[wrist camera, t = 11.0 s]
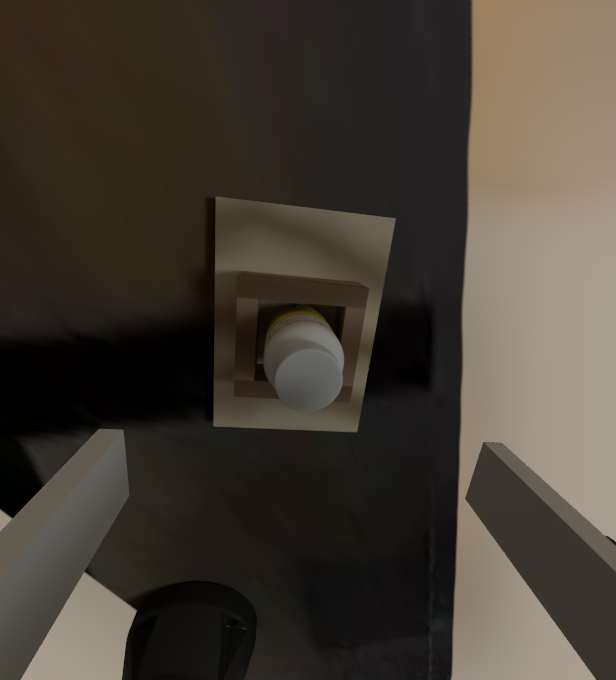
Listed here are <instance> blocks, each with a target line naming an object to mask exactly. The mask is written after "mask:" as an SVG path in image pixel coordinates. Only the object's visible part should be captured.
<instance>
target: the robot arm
mask: <svg viewBox="0 0 616 680" xmlns="http://www.w3.org/2000/svg"><path fill="white" fill-rule="evenodd" d="M128 496H129V487H128V476H127V465H126V453H125V442H124V431H123V430H113V429H99V430H98V431H97V432H96V433H95V434H94V435H93V436H92V437H91V438H90V439H89V440H88V441H87V442H86V443H85V444H84V445H83V446H82V447H81V448H80V449H79V450H78V451H77V452H76V453H75V455H74V456H73V457H72V458H71V459H70V460H69V461H68V462H67V463H66V464H65V465H64V466H63V467H62V468H61V469H60V470H59V471H58V472H57V473H56V474H55V475H54V476H53V477H52V478H51V479H50V481H49V482H48V483H47V484H46V485H45V486H44V487H43V488H42V489H41V490H40V491H39V492H38V493H37V494H36V495H35V496H34V497H33V498H32V499H31V500H30V501H29V502H28V503H27V504H26V505H25V507H24V508H23V509H22V510H21V511H20V512H19V513H18V514H17V515H16V516H15V517H14V518H13V519H12V520H11V521H10V522H9V523H8V524H7V525H6V526H5V527H4V528H3V530H2V531H1V532H0V680H20V679H21V678H22V676H23V674H24V673H25V671H26V669H27V667H28V666H29V664H30V662H31V661H32V659H33V657H34V656H35V654H36V652H37V651H38V649H39V647H40V645H41V644H42V642H43V640H44V639H45V637H46V635H47V633H48V632H49V630H50V629H51V627H52V625H53V623H54V622H55V620H56V618H57V617H58V615H59V613H60V612H61V610H62V608H63V607H64V605H65V603H66V601H67V600H68V598H69V596H70V595H71V593H72V591H73V590H74V588H75V586H76V584H77V583H78V581H79V579H80V578H81V576H82V574H83V573H84V571H85V569H86V568H87V566H88V564H89V563H90V561H91V559H92V557H93V556H94V554H95V552H96V551H97V549H98V547H99V546H100V544H101V542H102V541H103V539H104V537H105V535H106V534H107V532H108V530H109V529H110V527H111V525H112V524H113V522H114V520H115V519H116V517H117V515H118V513H119V512H120V510H121V508H122V507H123V505H124V503H125V502H126V500H127V498H128ZM465 499H466V500H467V502H468V503H469V505H470V506H471V507H472V508H473V510H474V512H475V513H476V514H477V516H478V517H479V518H480V520H481V521H482V522H483V524H484V525H485V527H486V528H487V529H488V531H489V532H490V534H491V535H492V536H493V538H494V539H495V540H496V542H497V543H498V544H499V546H500V547H501V549H502V550H503V551H504V552H505V554H506V556H507V557H508V558H509V560H510V561H511V562H512V564H513V565H514V567H515V568H516V569H517V571H518V572H519V573H520V575H521V576H522V578H523V579H524V580H525V582H526V583H527V585H528V586H529V587H530V589H531V590H532V592H533V593H534V594H535V596H536V597H537V598H538V599H539V601H540V602H541V604H542V605H543V607H544V608H545V609H546V611H547V612H548V613H549V615H550V616H551V618H552V619H553V621H554V622H555V623H556V625H557V626H558V627H559V629H560V630H561V632H562V633H563V634H564V636H565V637H566V638H567V640H568V641H569V643H570V644H571V645H572V647H573V648H574V649H575V651H576V652H577V653H578V655H579V656H580V658H581V659H582V661H583V662H584V663H585V665H586V666H587V667H588V669H589V670H590V672H591V673H592V674H593V676H594V677H595V678H596V680H616V542H615V541H614V540H612V539H611V538H609V537H608V536H604V535H603V534H602V533H601V532H600V531H599V530H598V529H597V528H595V527H594V526H593V525H592V524H591V523H590V522H589V521H588V520H587V519H586V518H584V517H583V516H582V515H581V514H580V513H579V512H578V511H577V510H576V509H574V508H573V507H572V506H571V505H570V504H569V503H568V502H567V501H566V500H565V499H563V498H562V497H561V496H560V495H559V494H558V493H557V492H556V491H555V490H553V489H552V488H551V487H550V486H549V485H548V484H547V483H546V482H544V481H543V480H542V479H541V478H540V477H539V476H538V475H537V474H536V473H534V472H533V471H532V470H531V469H530V468H529V467H528V466H527V465H526V464H525V463H523V462H522V461H521V460H520V459H519V458H518V457H517V456H516V455H515V454H513V453H512V452H511V451H510V450H509V449H508V448H507V447H506V446H505V445H504V444H502V443H495V442H484V443H483V446H482V448H481V451H480V454H479V458H478V461H477V464H476V467H475V470H474V473H473V476H472V479H471V482H470V486H469V489H468V492H467V495H466V498H465ZM256 626H257V617H256V613H255V610H254V608H253V606H252V605H251V603H250V602H249V601H248V600H247V599H246V598H245V597H244V596H242V595H241V594H239V593H238V592H236V591H234V590H232V589H230V588H227V587H224V586H221V585H216V584H211V583H185V584H179V585H174V586H171V587H168V588H165V589H162V590H160V591H158V592H156V593H155V594H153V595H151V596H150V597H149V598H147V599H146V600H145V601H144V602H143V603H142V604H141V606H140V607H139V609H138V610H137V612H136V615H135V617H134V620H133V623H132V625H131V628H130V630H129V633H128V637H127V642H126V649H125V658H124V668H123V675H122V680H244V678H245V675H246V672H247V669H248V666H249V662H250V659H251V656H252V653H253V650H254V646H255V640H256Z"/></svg>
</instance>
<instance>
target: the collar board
mask: <svg viewBox="0 0 616 680" xmlns="http://www.w3.org/2000/svg"><path fill="white" fill-rule="evenodd" d="M394 225H395V218H387V217H379V216H371V215H362V214H354V213H346V212H338V211H330V210H322V209H313V208H305V207H297V206H289V205H281V204H272V203H264V202H256V201H248V200H240V199H232V198H223V197H216V219H215V324H214V426H219V427H243V428H268V429H292V430H316V431H341V432H357V429H358V424H359V418H360V413H361V407H362V402H363V396H364V391H365V385H366V380H367V374H368V369H369V363H370V358H371V352H372V346H373V341H374V335H375V330H376V324H377V319H378V313H379V308H380V302H381V297H382V291H383V286H384V280H385V275H386V269H387V264H388V258H389V253H390V247H391V241H392V236H393V230H394ZM292 304H304V305H308V306H310V307H313V308H314V309H316V310H317V311H319V312H320V313H321V314H322V316H323V317H324V318H325V320H326V321H327V323H328V324H329V326H330V327H331V329H332V331H333V332H334V334H335V335H336V337H337V339H338V340H339V342H340V344H341V346H342V349H343V353H344V367H343V371H342V376H343V382H342V387H341V390H340V392H339V394H338V396H337V397H336V398H335V399H334V401H333V402H331V403H330V404H329V405H328V406H326V407H324V408H322V409H320V410H316V411H311V412H303V411H298V410H294V409H292V408H290V407H288V406H287V405H285V404H284V403H283V402H282V401H281V399H280V398H279V397H278V395H277V393H276V390H275V388H274V387H273V386H272V385H271V384H270V382H269V381H268V379H267V377H266V374H265V370H264V349H265V340H266V332H267V327H268V324H269V321H270V320H271V318H272V317H273V315H274V314H275V313H276V312H277V311H278V310H280V309H281V308H283V307H285V306H288V305H292Z"/></svg>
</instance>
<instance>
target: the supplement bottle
mask: <svg viewBox="0 0 616 680" xmlns="http://www.w3.org/2000/svg"><path fill="white" fill-rule="evenodd" d="M343 367H344V353H343V349H342V346H341V344H340V342H339V340H338V339H337V337H336V335H335V334H334V332H333V331H332V329H331V327H330V326H329V324H328V323H327V321H326V320H325V318H324V317H323V316H322V314H321V313H320V312H319V311H317V310H316V309H314V308H313V307H310V306H308V305H304V304H292V305H288V306H285V307H283V308H281V309H280V310H278V311H277V312H276V313H275V314H274V315H273V317H272V318H271V320H270V321H269V324H268V327H267V332H266V340H265V349H264V370H265V374H266V377H267V379H268V381H269V382H270V384H271V385H272V386H273V387H274V388H275V390H276V393H277V395H278V397H279V398H280V399H281V401H282V402H283V403H284V404H285V405H287V406H288V407H290V408H292V409H294V410H298V411H303V412H311V411H316V410H320V409H322V408H324V407H326V406H328V405H329V404H330V403H331V402H333V401H334V399H335V398H336V397H337V396H338V394H339V392H340V390H341V387H342V382H343V376H342V371H343Z"/></svg>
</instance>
